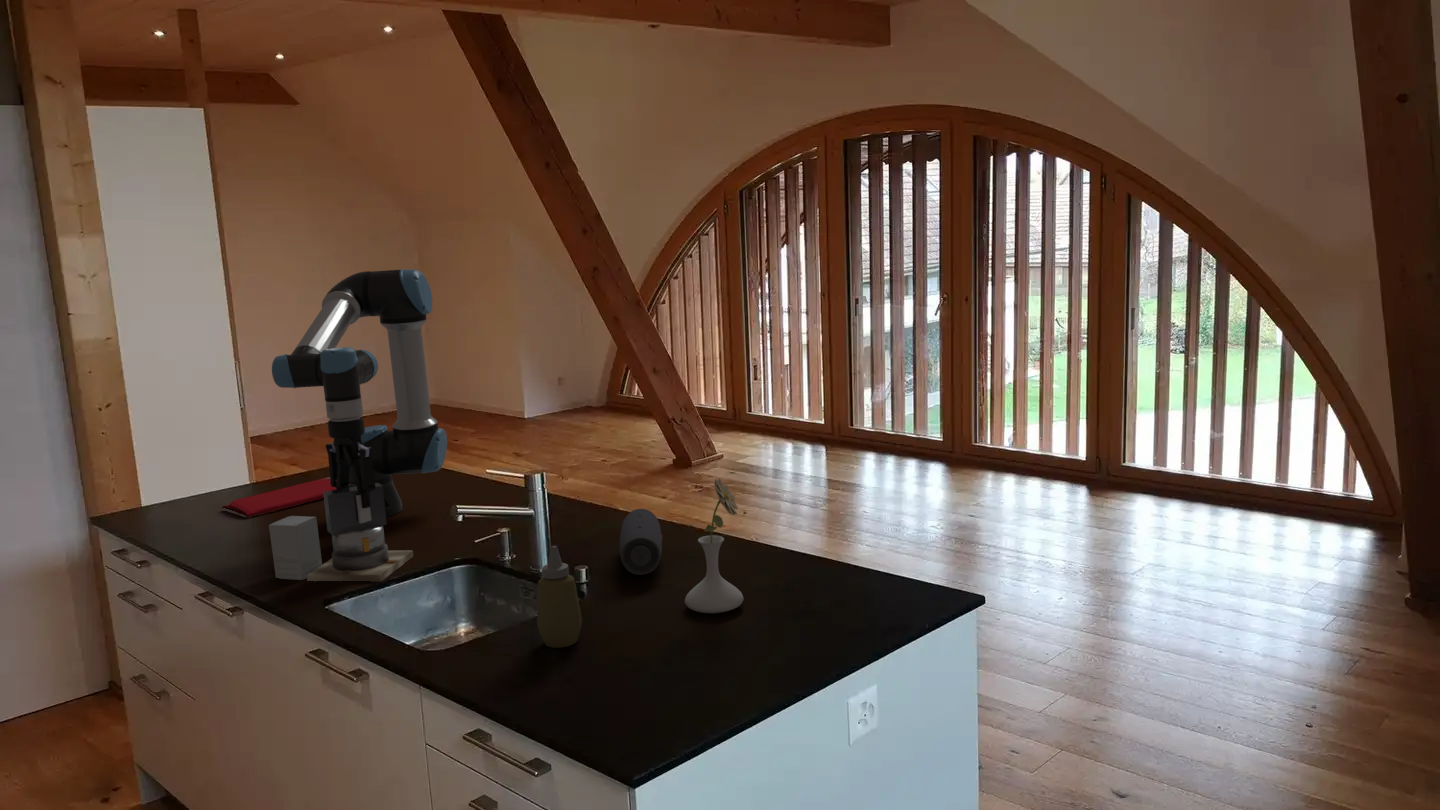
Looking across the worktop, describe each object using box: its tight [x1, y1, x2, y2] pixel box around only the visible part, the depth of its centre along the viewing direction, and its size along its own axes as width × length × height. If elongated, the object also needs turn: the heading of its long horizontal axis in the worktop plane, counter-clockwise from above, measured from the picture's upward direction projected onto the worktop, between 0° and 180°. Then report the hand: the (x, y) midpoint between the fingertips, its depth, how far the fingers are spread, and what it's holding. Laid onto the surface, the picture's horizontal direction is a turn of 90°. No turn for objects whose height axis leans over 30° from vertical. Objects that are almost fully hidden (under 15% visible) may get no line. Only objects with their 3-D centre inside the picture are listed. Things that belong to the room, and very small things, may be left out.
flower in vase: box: [684, 477, 745, 614], centre depth 205 cm, size 13×11×25 cm
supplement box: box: [268, 515, 323, 581], centre depth 238 cm, size 7×7×13 cm
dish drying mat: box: [221, 476, 337, 517], centre depth 308 cm, size 16×41×4 cm, turn 139°
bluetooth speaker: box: [619, 508, 663, 576], centre depth 234 cm, size 23×9×10 cm, turn 4°
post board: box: [306, 543, 414, 583], centre depth 240 cm, size 17×17×4 cm
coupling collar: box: [323, 483, 388, 557], centre depth 238 cm, size 12×12×14 cm
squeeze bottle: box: [536, 545, 583, 649], centre depth 191 cm, size 8×8×18 cm
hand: (356, 519), depth 239 cm, fingers closed on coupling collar, 5 cm apart
